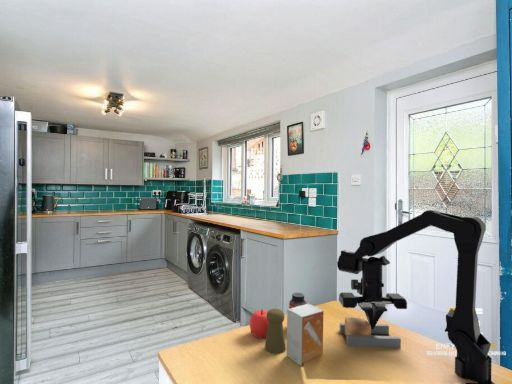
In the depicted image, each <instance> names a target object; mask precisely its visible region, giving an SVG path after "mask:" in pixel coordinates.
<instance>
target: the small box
mask: <svg viewBox="0 0 512 384" xmlns="http://www.w3.org/2000/svg"><path fill="white" fill-rule="evenodd" d="M324 313H325V312H324V310H322V309H321V308H319V307H316V306H314V305H312V304H310V303H307V304H305V305H301V306H297V307H294V308H290V309H289V308H287V310H286V314H287V315H286V318H287V319H286V357H288V358H289V359H291V360H292V361H294V363H296V364H297V365H299V366H300V367H304V365H305V364H304V363H305V362H307V361H309V360H312V359H314V358H317V357H319V356H321V355H323V354H324V352H323V351H324V350H323V349H324Z"/></svg>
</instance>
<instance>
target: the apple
mask: <svg viewBox="0 0 512 384" xmlns="http://www.w3.org/2000/svg"><path fill="white" fill-rule="evenodd" d="M268 311H269V310H263V309H260V310H256V311H254V312H253V314H252V315H251V316H250V319H249V323H248V324H249V329H250V333H251V334H252V335H253V336H255V337H256V338H260V339H264V338H265V339H266V335H267V328H268V321H267V312H268Z"/></svg>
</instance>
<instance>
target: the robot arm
mask: <svg viewBox="0 0 512 384" xmlns="http://www.w3.org/2000/svg"><path fill="white" fill-rule="evenodd" d="M431 226H432V227H435V228H437V229H440V230H442V231H445V232H448V233H452V234H453V240H454V243H455V247H456V250H457V267H456V269H457V271H456V284H455V285H456V288H455V291H456V292H455V307H454V309H453V308H451V309H450V310H449V311H448V312H447V313H446V315H445V322H446V326H445V329H444V332H445V333H446V332H447V338H448V340H449V342H451V344H453V345H454V347H455V350H456V356H455V357H454V372H455V374H456V375H457V376H459V377H460V379H464V380H470V381H471V382H465V384H496V383H494V382H493V381H492V361H493V360H492V359H493V358H492V357H491V356H490V355H489V352H490V349H491V346H492V344H491V342H490V341H489V340H488V339H487V338H486V337H485V336H484V334H482V333H481V328H480V323H479V322H480V321H479V317H478V315H477V311H476V298H477V297H476V296H477V279H478V278H477V275H478V260H479V259H478V258H479V252H480V248H481V246H482V244H483V243H482V242H483V240H484V236H485V233H486V223H485V222H484V221H483V220H482V219H481V218H480V217H478V216H476V215H467V216H460V215H455V214H450V213H446V212H442V211H438V210H436V209H430V210H428V209H427V210H425V211H423V212H422V213H421V214H419V215H417V216H415V217H413V218H411V219H409V220H407V221H405V222H403V223H401V224H398V225H396V226H394V227H392V228H391V229H388V230H387V231H384V232H379V233H377V234H376V233H375V234H373V235H368V236H365V237H363V238H362V239H360V241H359V242H360V243H359V246H358V248H357V249H356V250H355V251H349V250H346V249H343V250H340V254H339V257H338V260H337V261H336V264H337V266H336V267H337V270H338V271H340V272H344V273H349V274H354V275H358V274H359V273H360V272H361V275H362V277H361V278H360V281H359V279H351V280H350V288H351V290H353V291H356V292H357V293H358V294H359V295H361V296H356V295H354V293H353V292H340V293H339V295H338V302H339V303H340V304H341V306H342V308H345V309H355V308H356V307H357V306H359V308H360V309H361V310H362V311H363V312H364V314H365V317H366V321H367V322H368V323H369V325H370V326H371V329H374V327H375V326H376V324H378V322H379V320H380V318H381V317H382V316H383V314H384V313H385V312H388V308H386V306H387V305H393V306H394V307H395V309H398V310H407V309H408V301H407V300H406V298H404V297H403V296H402V295H401V294H399V293H394V292H393V293H390V292H389V293H386V294H385V296H383V288H384V286H385V283H384V282H383V266H384V267H385V266H387V265H390V264H391V261H390V260H388V259H387V258H386V256H385V255H382V256H379V257H377V256H376V255H379V254H382V253H383V252H385V251H386V250H387V249H389V248H390V247H392V246H393V245H394V244H395V243H396V242H399V241H401V240H403V239H405V238H407V237H409V236H411V235H413V234H416V233H419V232H420V231H423V230H425V229H427V228H430V227H431ZM365 257H368V258H365Z"/></svg>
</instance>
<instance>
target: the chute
mask: <svg viewBox="0 0 512 384" xmlns="http://www.w3.org/2000/svg"><path fill="white" fill-rule="evenodd" d="M339 333H340V334H341V335H342V337H343V340H344V341H345V343H346V345H347V347H362V348H365V347H366V348H397V349H398V348H401V347H402V345H401V344H402V343H401V342H402V339H401V338H400V336H396V335H390V326H389V324H388V323H377V324H376V326H375V327H374V329H371V336H364V335H347V336H346V334H345V322H339Z"/></svg>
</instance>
